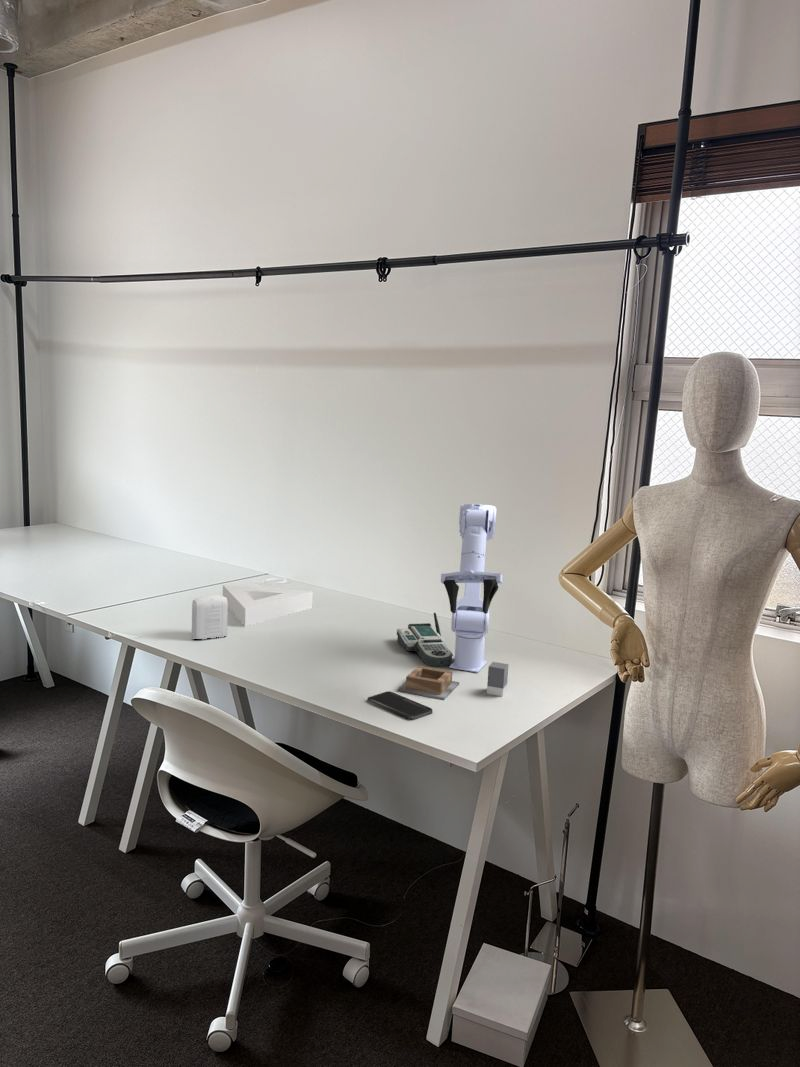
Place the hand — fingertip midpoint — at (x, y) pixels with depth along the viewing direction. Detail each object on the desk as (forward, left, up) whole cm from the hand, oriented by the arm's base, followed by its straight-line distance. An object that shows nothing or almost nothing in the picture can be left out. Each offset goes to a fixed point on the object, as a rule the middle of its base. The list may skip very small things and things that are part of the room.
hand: (468, 612), depth 196 cm
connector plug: (-11, +5, -22) cm, 25 cm away
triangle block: (-40, -80, -23) cm, 92 cm away
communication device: (-31, -20, -23) cm, 44 cm away
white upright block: (-14, -80, -23) cm, 84 cm away
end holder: (-6, -11, -22) cm, 25 cm away
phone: (+9, -13, -23) cm, 28 cm away
